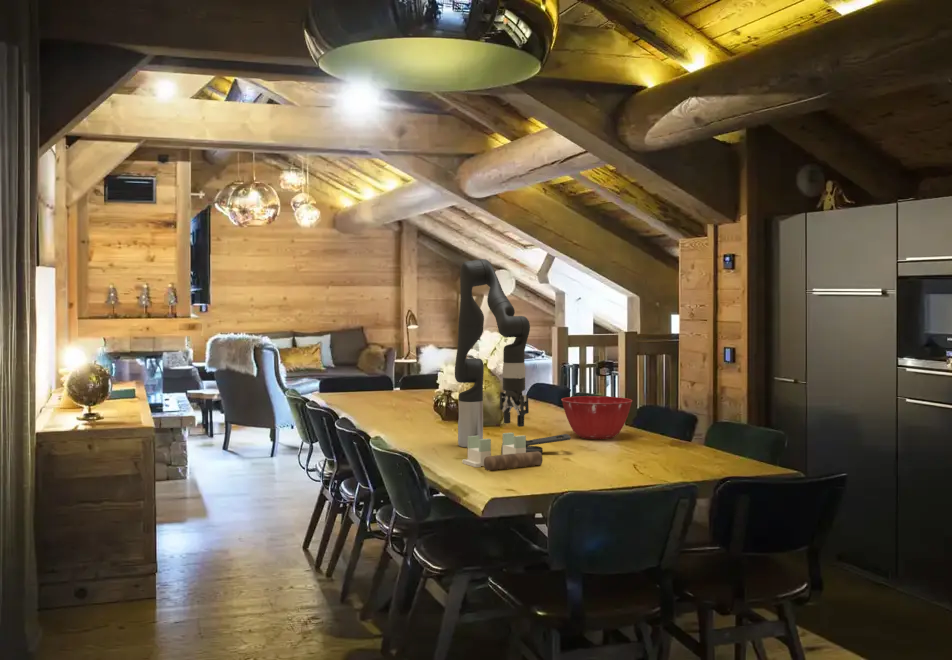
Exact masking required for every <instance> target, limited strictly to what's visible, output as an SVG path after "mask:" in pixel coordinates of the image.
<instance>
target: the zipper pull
mask: <svg viewBox="0 0 952 660" xmlns="http://www.w3.org/2000/svg"><path fill="white" fill-rule="evenodd" d="M571 437H572V436H571V435H570V434H567V433H565V434H558V435H553V436H546V437H545V436H544V437H541V438H535V439H528V440H527V439H526V452H536V451H539V452H540V453H541V454H542V455H543V447H542V446H538V445H541V444H551V443H556V442H557V443H558V442H563V441H564V442H565V441H570V440H571ZM501 444H502V445H501V449H500V453H502V448H503V442H502V443H501Z"/></svg>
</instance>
